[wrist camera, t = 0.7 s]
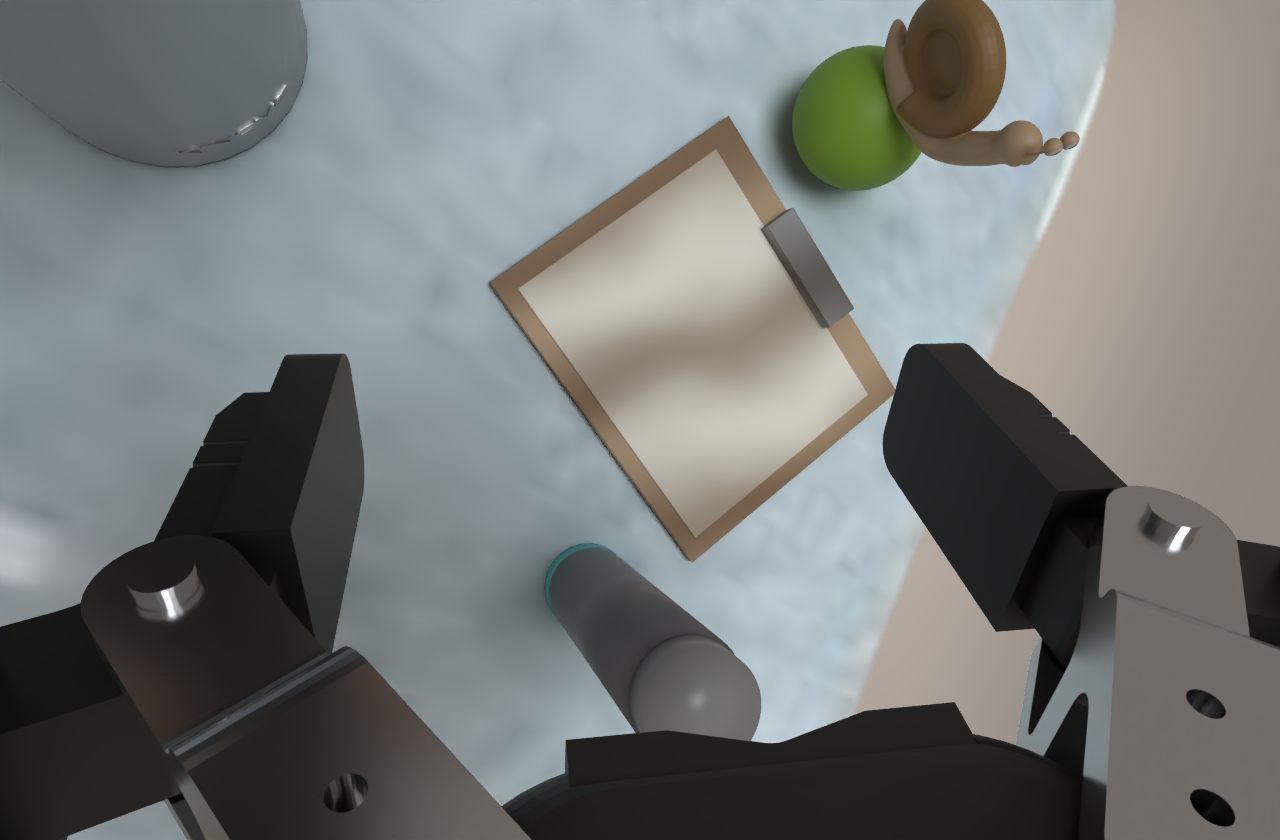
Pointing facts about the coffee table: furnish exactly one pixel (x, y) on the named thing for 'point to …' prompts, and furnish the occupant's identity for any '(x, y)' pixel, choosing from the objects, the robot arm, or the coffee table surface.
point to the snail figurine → (913, 101)
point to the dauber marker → (650, 649)
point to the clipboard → (699, 336)
